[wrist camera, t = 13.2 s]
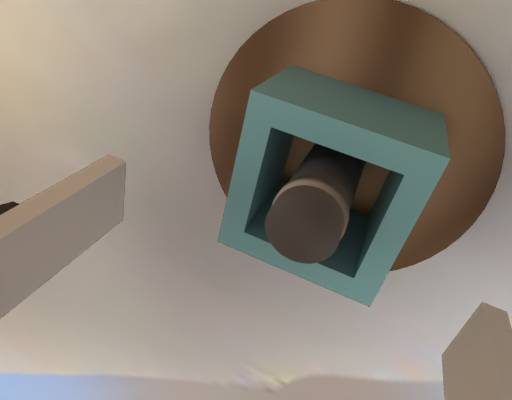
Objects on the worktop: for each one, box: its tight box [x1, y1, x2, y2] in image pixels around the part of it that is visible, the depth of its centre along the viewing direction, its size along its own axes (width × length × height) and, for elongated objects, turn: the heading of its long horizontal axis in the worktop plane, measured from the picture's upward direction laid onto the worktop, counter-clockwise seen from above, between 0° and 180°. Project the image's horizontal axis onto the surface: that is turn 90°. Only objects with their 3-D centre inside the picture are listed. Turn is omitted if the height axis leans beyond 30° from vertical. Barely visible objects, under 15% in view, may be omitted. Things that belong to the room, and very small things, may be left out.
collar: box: [218, 65, 451, 307], centre depth 20 cm, size 8×8×6 cm
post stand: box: [209, 0, 505, 271], centre depth 19 cm, size 16×16×9 cm
